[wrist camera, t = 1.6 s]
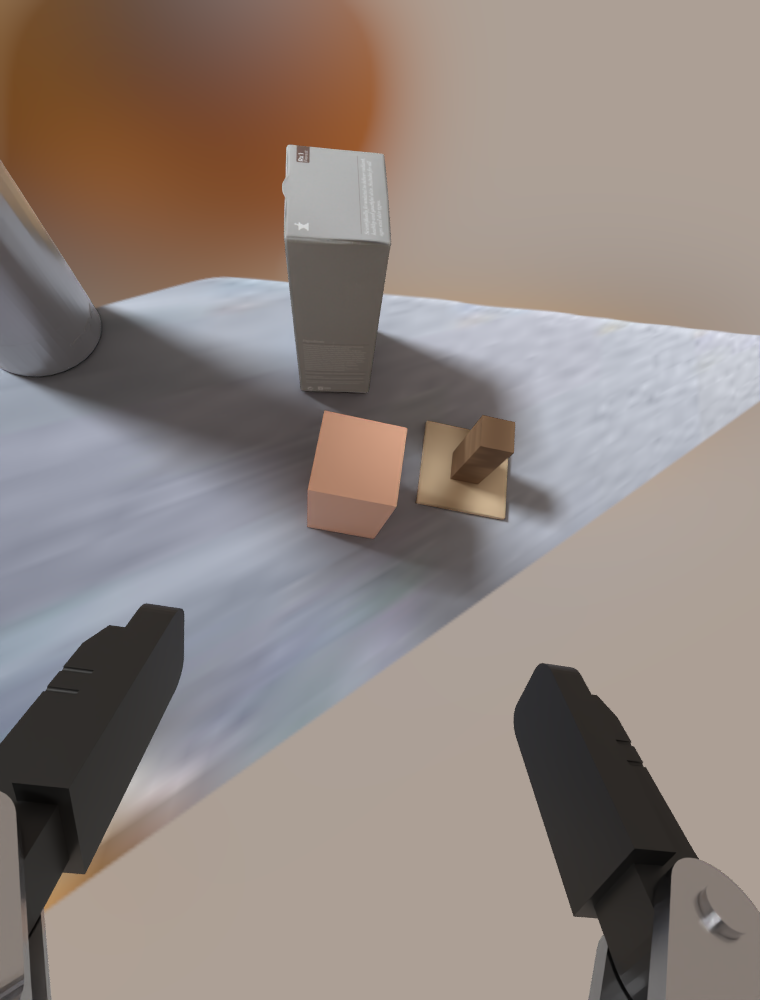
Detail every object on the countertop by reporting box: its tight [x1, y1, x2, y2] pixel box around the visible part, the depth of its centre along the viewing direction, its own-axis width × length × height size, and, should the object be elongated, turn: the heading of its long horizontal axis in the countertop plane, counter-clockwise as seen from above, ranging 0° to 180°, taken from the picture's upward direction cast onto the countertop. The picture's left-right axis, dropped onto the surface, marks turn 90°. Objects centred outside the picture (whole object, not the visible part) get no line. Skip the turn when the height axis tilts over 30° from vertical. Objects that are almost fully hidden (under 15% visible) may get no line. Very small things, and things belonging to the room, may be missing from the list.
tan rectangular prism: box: [307, 410, 407, 539], centre depth 32 cm, size 6×6×10 cm
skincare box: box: [282, 145, 391, 393], centre depth 33 cm, size 8×7×16 cm
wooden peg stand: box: [416, 415, 515, 520], centre depth 35 cm, size 8×8×8 cm
